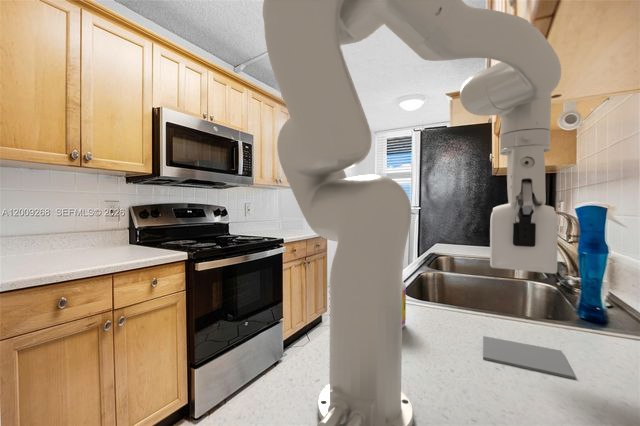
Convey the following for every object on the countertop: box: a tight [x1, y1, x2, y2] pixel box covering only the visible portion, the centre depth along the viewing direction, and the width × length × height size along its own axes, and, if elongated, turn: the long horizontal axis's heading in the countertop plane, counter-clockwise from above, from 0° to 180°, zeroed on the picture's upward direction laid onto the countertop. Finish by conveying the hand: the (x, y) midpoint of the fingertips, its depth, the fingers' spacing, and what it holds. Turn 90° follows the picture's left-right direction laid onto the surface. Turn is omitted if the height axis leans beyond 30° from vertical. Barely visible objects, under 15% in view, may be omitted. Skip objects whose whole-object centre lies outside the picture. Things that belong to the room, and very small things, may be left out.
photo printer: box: [489, 203, 559, 275], centre depth 55 cm, size 10×4×12 cm, turn 54°
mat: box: [482, 335, 576, 380], centre depth 56 cm, size 10×13×1 cm
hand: (522, 243), depth 55 cm, fingers closed on photo printer, 4 cm apart
